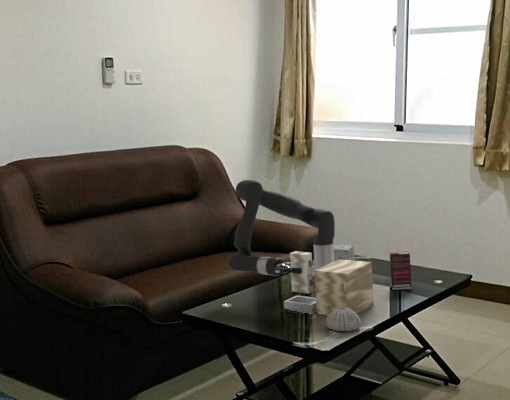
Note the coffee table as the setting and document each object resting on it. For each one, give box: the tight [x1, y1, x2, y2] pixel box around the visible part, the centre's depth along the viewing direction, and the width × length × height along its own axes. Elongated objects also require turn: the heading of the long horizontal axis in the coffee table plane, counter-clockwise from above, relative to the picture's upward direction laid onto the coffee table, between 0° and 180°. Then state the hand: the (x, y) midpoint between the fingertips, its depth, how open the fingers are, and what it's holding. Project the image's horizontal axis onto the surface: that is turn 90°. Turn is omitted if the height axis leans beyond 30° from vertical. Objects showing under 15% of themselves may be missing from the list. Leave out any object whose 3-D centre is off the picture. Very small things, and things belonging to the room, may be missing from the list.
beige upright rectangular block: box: [289, 250, 314, 294], centre depth 324 cm, size 9×4×16 cm, turn 53°
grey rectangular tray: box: [283, 295, 317, 315], centre depth 327 cm, size 13×9×4 cm
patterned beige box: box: [312, 259, 375, 316], centre depth 323 cm, size 17×20×18 cm
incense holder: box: [333, 244, 356, 262], centre depth 394 cm, size 10×8×10 cm
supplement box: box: [389, 251, 413, 291], centre depth 347 cm, size 9×5×16 cm, turn 84°
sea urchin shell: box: [325, 307, 362, 332], centre depth 299 cm, size 13×14×8 cm
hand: (304, 270), depth 324 cm, fingers closed on beige upright rectangular block, 4 cm apart
